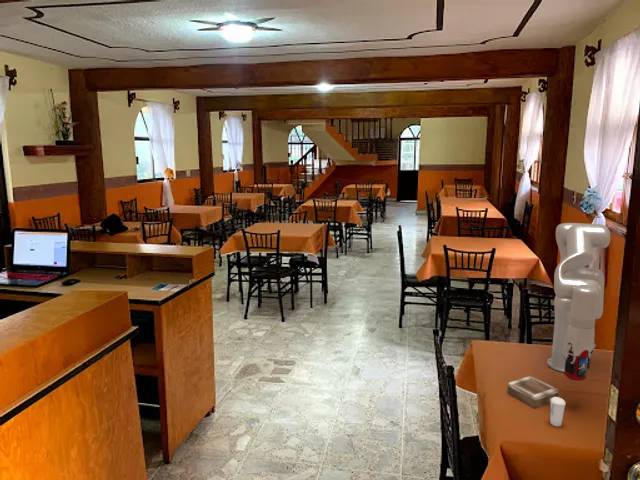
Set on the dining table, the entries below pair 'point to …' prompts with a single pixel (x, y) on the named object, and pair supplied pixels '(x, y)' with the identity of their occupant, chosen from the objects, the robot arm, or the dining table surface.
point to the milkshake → (556, 411)
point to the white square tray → (532, 391)
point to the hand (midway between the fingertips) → (576, 369)
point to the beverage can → (579, 367)
